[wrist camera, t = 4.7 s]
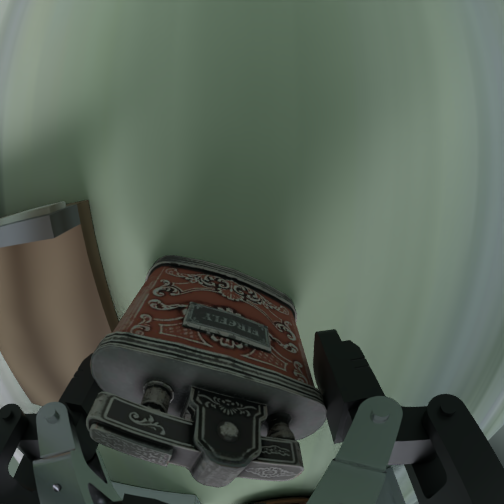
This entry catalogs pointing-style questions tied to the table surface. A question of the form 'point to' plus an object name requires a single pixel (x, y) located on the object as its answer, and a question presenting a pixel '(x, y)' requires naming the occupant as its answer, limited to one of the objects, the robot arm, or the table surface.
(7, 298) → the shelf board
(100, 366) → the lighter
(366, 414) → the robot arm
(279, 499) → the cup and saucer
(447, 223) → the table surface
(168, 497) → the skincare box
